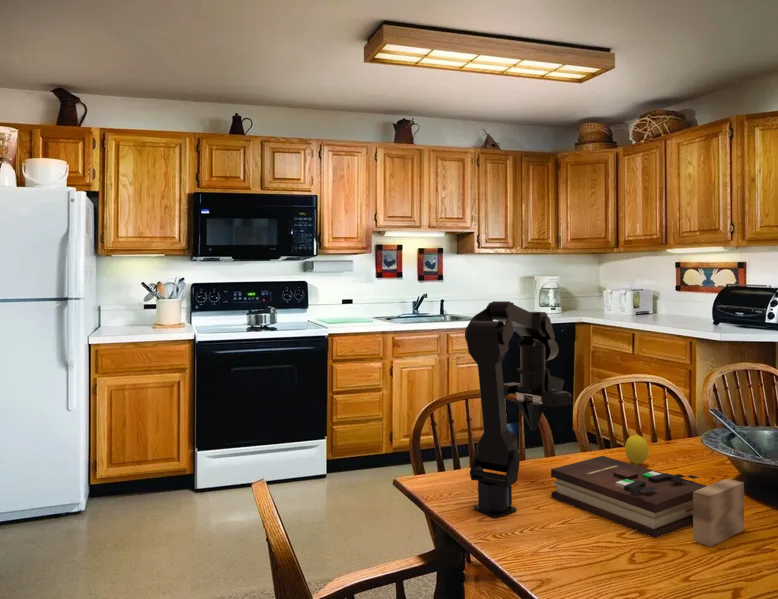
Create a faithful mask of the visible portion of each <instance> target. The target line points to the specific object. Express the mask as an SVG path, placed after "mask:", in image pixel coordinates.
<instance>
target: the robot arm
mask: <svg viewBox="0 0 778 599" xmlns="http://www.w3.org/2000/svg"><path fill="white" fill-rule="evenodd" d="M515 332H516V334H518V336H519V337H520V339H521V340H520V341H519V343H518V347H519V348H520V355H519V356H520V368H516V373H517V374H520V382H507V383H506V382H504V375H503V360H504V358H505V357H506V354H507V352H508V350H509V343H510V340H511V338H512V337H513V335H514V333H515ZM555 338H556V336H555V333H554V329H553V325H552V321H551V318H550V317H549V315H548V313H546V311H528V310H526V309H524V308H522V307H520V306H518V305H516V304H515V303H514V302H511V301H509V300H508V301H499V300H497V301H494V300H493V301H491V302H489V303H488V304H487V306H486V308H484V309H483V310H481V311H480V312H478V313H476V314H475V315H474V316H472V318H471V320H470V321H469V323H468V324H467V326H466V327H465V330H464V339H465V341H466V346H467V347H466V348H467V351H468V354H469V355H470V357H471V358H472V359H473V361H474V363H475V365H477V370H478V381H479V382H478V383H479V394H480V395H479V396H480V403H481V414H482V415H481V416H482V427H483V433H482V434H481V437H480V438H479V440H478V442H477V444H476V447H477V448H476V453H475V455H474V459H473V461H472V465H471V467H470V469H469V476H470V480H471V481H476V482H477V493H478V494H477V497H478V498H477V500H478V504H475V505H473V506H472V507H473V509H474V510H476V511H478V512H479V513H482V514H484V515H487V516H488V517H491V518H494V519H495V518H499V517H501V516H504V515H508V514H511V513H513V512H516V511H517V507H514V506H512V505H513V504H512V503H513V501H512V500H513V499H512V498H513V496H512V495H513V493H512V490H513V489H512V488H513V487H512V485H514V484H516V482H517V481H518V479H519V470H520V462H521V461H520V460H521V459H520V457H521V456H520V453H519V445H518V436H517V434H516V433H514V432H511V431H510V430H509V429H508V423H507V422H508V421H507V410H506V400H505V398H507V397H509V395H511V394H512V395H516V399H514V400H513V401H514V403H516V405H517V407H518V408H519V410H520V412H521V414H523V417H524V419H525V421H526V423H527V425H528V426H529V429H530V431H533V432H534V431H537V430H538V427H539V424H540V421H541V417H542V415H543V413H544V410H545V409H546V408H547V407H551V408H557V407H558V408H559V407H563V406H571V405H573V404H572V403H573V402H572V401H573V400H572V398H573V397H572V394H571V393H570V392H569V391H565V390H563V386H564V383H565V380H564V379H563V378H562V379H561V378H560V377H556V376H554V375H551V371H550V369H549V368H546V362H547V361H550V360H553V359H554V358H556V357H557V356H558V354H559V346H558V342H556V340H555ZM485 470H487V471H485ZM491 471H492V472H491ZM496 472H498V473H496ZM502 473H505V474H502Z"/></svg>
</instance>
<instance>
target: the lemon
mask: <svg viewBox="0 0 778 599" xmlns="http://www.w3.org/2000/svg"><path fill="white" fill-rule="evenodd" d="M649 451H650V450H649V445H648V443H647V440H646V439H645V438H644V437H643V436H641V435H639V434H637V433H635V434H634V435H631V436H630V437H628V438H627V439H626V441H625V446H624V452H625V456H626V458H627V459H628V460H629V462H631V463H633V465H637V466H640V465H641V464H643V463H645V462H646V461H647V460H648V457H649Z"/></svg>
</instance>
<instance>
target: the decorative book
mask: <svg viewBox="0 0 778 599" xmlns="http://www.w3.org/2000/svg"><path fill="white" fill-rule="evenodd" d="M550 476H551V478H554V479H556V481H553V482H551V484H552V485H554V486H556V490H554V491H551V496H550V497H551V499H554V500H556V501H559V502H562V503H565V504H567V505H569V506H572V507H574V508H577V509H580V510H582V511H584V512H587V513H590V514H592V515H594V514H595V516H598V517H600V518H602V517H603V518H602V519H605V520H607V519H608V521H610V520H611V521H610V522H612V521H613V522H612V523H615V524H617V523H618V525H620V524H621V526H623V527H626V528H628V529H630V528H631V530H633V531H635V530H637V531H636V532H638V533H640V532H641V533H640V534H643V533H644V534H643V535H645V534H646V536H648V535H649V536H648V537H650V536H651V537H650V538H653V537H654V538H653V539H658V538H660V537H659V536H661V535H663V536H665V535H664V534H666V535H668V534H671V533H673V532H675V530H676V531H678V530H677V529H679V530H680V528H681V529H683V528H682V527H684V528H686V527H689V526H691V525H693V492H694V491H696V490H699V489H701V488H704V487H706V486H708V485H706V484H703V483H699V482H696V481H692V480H689V479H685V478H686V477H687V478H690V479H693V480H695V479H699V478H700V477H699V476H696V475H693V474H692V475H687V476H686V475H683V474H679V473H678V474H670V473H667V472H665V473H664V472H661V471H656V470H653V469H650V468H647V467H644V466H640V465H638V466H637V465H635V464H634V463H633V464H632V463H630V462H629V463H628V462H626V461H622V460H619V459H616V458H612V457H608V456H605V455H600V456H597V457H592V458H590V459H586V460H581V461H577V462H573V463H570V464H566V465H562V466H558V467H554V468H551V469H550ZM690 524H691V525H690ZM688 525H689V526H688ZM685 526H686V527H685ZM672 531H673V532H672ZM670 532H671V533H670ZM667 533H668V534H667ZM657 537H658V538H657ZM661 537H662V536H661Z"/></svg>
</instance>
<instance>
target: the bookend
mask: <svg viewBox="0 0 778 599" xmlns="http://www.w3.org/2000/svg"><path fill="white" fill-rule="evenodd" d="M692 525H693V526H692V541H693V542H694V541H696V542H695V543H697V542H699V543H698V544H700V543H701V544H700V545H702V544H704V545H703V546H705V545H706V547H708V546H709V547H708V548H712V547H713V546H715V545H717V544H720V543H721V542H724V541H725V540H727V539H730V538H731V537H733V536H735V535H737V534H739V533H741V532H743V531H745V482H744V481H739V480H735V479H731V478H729V477H728V478H725V479H722V480H720V481H717V482H715V483H711V484H709V485H707V486H706V487H704V488H701V489H699V490H696V491H694V492H693V524H692Z"/></svg>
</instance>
